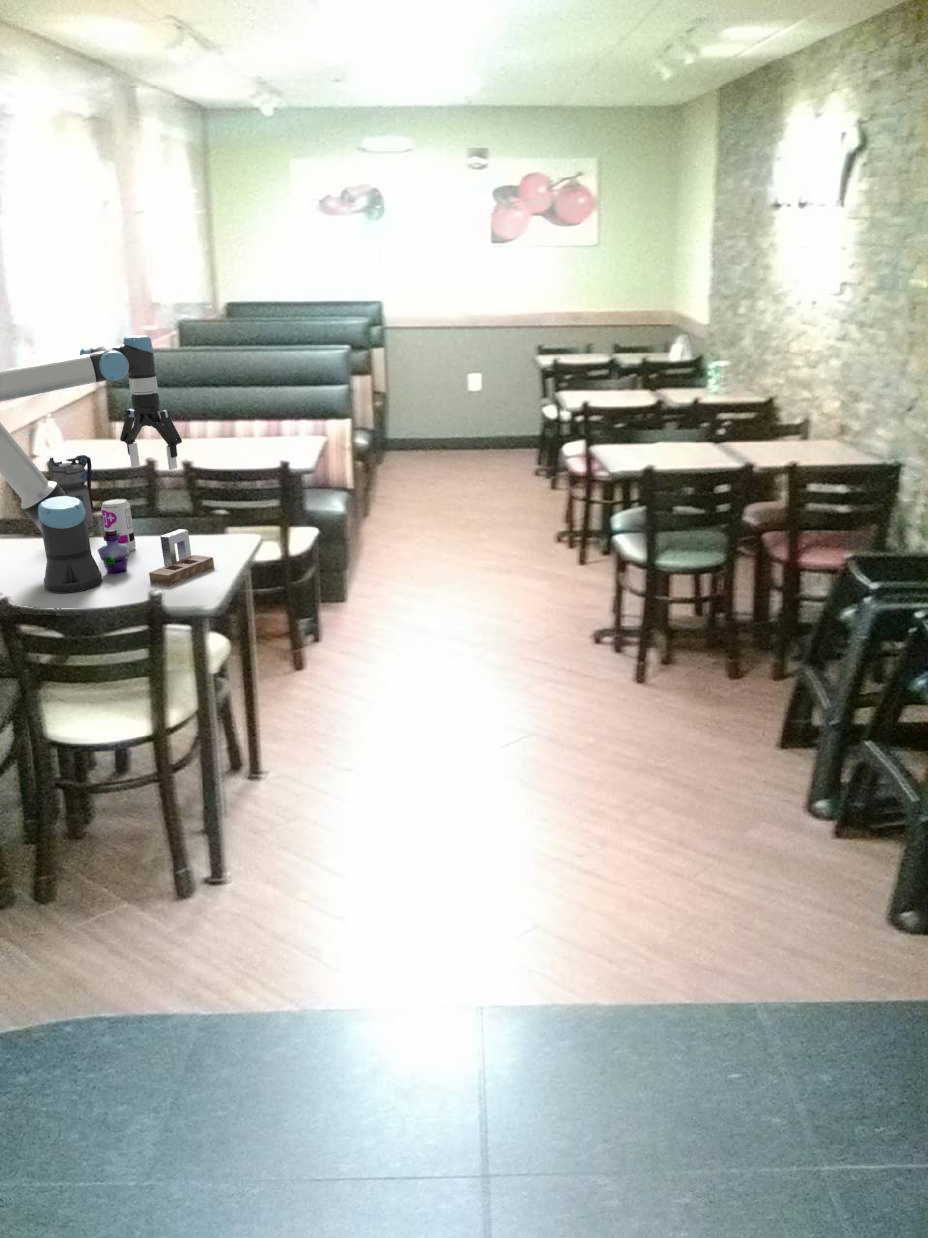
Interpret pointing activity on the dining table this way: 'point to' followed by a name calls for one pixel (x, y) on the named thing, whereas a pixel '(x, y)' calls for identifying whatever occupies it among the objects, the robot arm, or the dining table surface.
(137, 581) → the dining table surface
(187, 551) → the clip
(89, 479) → the dark grey lidded pitcher
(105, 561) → the potion bottle
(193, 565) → the wooden socket base
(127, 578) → the dining table surface
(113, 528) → the supplement can
